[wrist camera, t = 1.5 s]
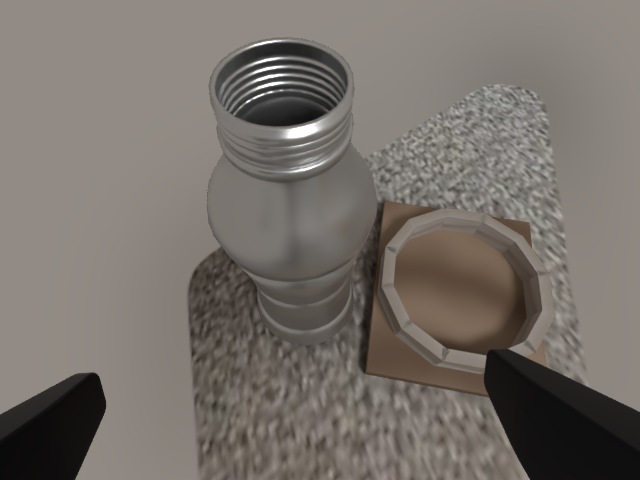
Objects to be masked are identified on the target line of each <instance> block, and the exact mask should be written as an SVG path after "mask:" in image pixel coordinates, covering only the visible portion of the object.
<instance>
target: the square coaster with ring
mask: <svg viewBox="0 0 640 480" xmlns="http://www.w3.org/2000/svg"><path fill="white" fill-rule="evenodd" d="M554 317H555V310H554V303H553V295H552V288H551V281H550V273H549V272H548V270H547V269H546V268H545V266H544V265H543V263H542V262H541V261H540V259H539V258H538V256H537V255H536V254H535V252H534V251H533V250H532V243H531V234H530V226H529V222H522V221H516V220H509V219H502V218H495V217H490V216H488V215H487V214H484V213H477V212H471V211H464V210H457V209H450V208H442V209H435V208H428V207H421V206H414V205H408V204H401V203H394V202H387V201H385V202H384V206H383V209H382V218H381V227H380V236H379V245H378V254H377V263H376V272H375V281H374V290H373V299H372V308H371V317H370V326H369V335H368V344H367V353H366V362H365V371H364V374H368V375H373V376H378V377H384V378H389V379H394V380H400V381H405V382H410V383H416V384H421V385H426V386H431V387H437V388H442V389H447V390H453V391H458V392H463V393H468V394H474V395H479V396H484V397H489V395H488V393H487V391H486V389H485V385H484V371H485V363H486V355H487V352H488V351H489V350H490V349H499V348H507V349H510V350H512V351H514V352H516V353H518V354H520V355H522V356H524V357H526V358H528V359H531V360H533V361H535V362H537V363H539V364H541V365H543V366H545V367H546V358H545V350H544V342H543V338H544V336H545V334H546V332H547V330H548V328H549V327H550V325H551V323H552V321H553V319H554Z"/></svg>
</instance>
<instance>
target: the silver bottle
mask: <svg viewBox="0 0 640 480" xmlns="http://www.w3.org/2000/svg"><path fill="white" fill-rule="evenodd" d="M209 91H210V101H211V105H212V108H213V111H214V114H215V117H216V120H217V134H218V139H219V142H220V145H221V148H222V150H223V152H224V153H223V155H222V156H221V158H220V160H219V162H218V163H217V165H216V167H215V169H214V171H213V173H212V175H211V178H210V180H209V185H208V192H207V211H208V220H209V224H210V227H211V229H212V232H213V235H214V237H215V238H216V240H217V241H218V242H219V244H220V245H221V247H222V248H223V249H224V251H225V252H226V253H227V254H228V256H229V257H230V258H231V259H232V260H233V261H234V262H235V263H236V264H237V265H239V266H240V267H241V268H242V269H243V270H244V271H245V272H246V273H247V274H248V275H249V276H250V277H251V279H252V280H253V281H254V283H255V285H256V287H257V301H258V308H259V313H260V316H261V318H262V321H263V322H264V324H265V325H266V327H267V328H268V329H269V330H270V331H271V332H272V333H273V334H274V335H275V336H277V337H279V338H280V339H282V340H284V341H287V342H290V343H292V344H297V345H314V344H318V343H322V342H324V341H326V340H328V339H330V338H331V337H333V336H334V335H335V334H337V333H338V332H339V331H340V330H341V329H342V328H343V327H344V326H345V325H346V323H347V321H348V320H349V318H350V316H351V313H352V310H353V304H354V294H353V286H352V282H351V279H350V272H351V268H352V265H353V263H354V261H355V259H356V258H357V256H358V254H359V252H360V251H361V249H362V247H363V246H364V244H365V242H366V241H367V239H368V236H369V234H370V231H371V229H372V226H373V223H374V221H375V218H376V213H377V203H378V202H377V195H376V189H375V185H374V181H373V177H372V174H371V172H370V169H369V167H368V164H367V163H366V162H365V160H364V159H363V157H362V156H361V154H360V153H359V152H358V151H357V149H356V148H355V147H354V146H353V145H352V143H351V138H352V131H353V115H352V112H351V111H352V104H353V96H354V80H353V73H352V71H351V69H350V66H349V64H348V63H347V62H346V61H345V59H344V58H343V57H342V56H341V55H339V54H338V53H337V52H336V51H334V50H333V49H331V48H329V47H327V46H325V45H323V44H320V43H317V42H314V41H310V40H305V39H299V38H272V39H265V40H260V41H257V42H253V43H250V44H247V45H245V46H243V47H240V48H238V49H236V50H235V51H233V52H231V53H229V54H228V55H227V56H226V57H225V58H224V59H222V60H221V61H220V62H219V64H218V65H217V66H216V67H215V69H214V71H213V73H212V75H211V77H210V82H209Z"/></svg>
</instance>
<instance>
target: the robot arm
mask: <svg viewBox="0 0 640 480" xmlns="http://www.w3.org/2000/svg"><path fill="white" fill-rule="evenodd" d="M484 385H485V389H486V391H487V393H488V395H489V398H490V400H491V402H492V404H493V406H494V409H495V411H496V413H497V415H498V417H499V419H500V422H501V424H502V426H503V428H504V430H505V433H506V435H507V437H508V439H509V441H510V443H511V445H512V447H513V450H514V452H515V454H516V455H517V457H518V459H519V461H520V463H521V465H522V466H523V468H524V470H525V472H526V473H527V475H528V477H529V478H530V480H640V412H638V411H637V410H635V409H633V408H630V407H628V406H626V405H624V404H622V403H620V402H618V401H616V400H614V399H612V398H610V397H608V396H605V395H603V394H601V393H599V392H597V391H595V390H593V389H591V388H589V387H587V386H585V385H583V384H580V383H578V382H576V381H574V380H572V379H570V378H568V377H566V376H564V375H562V374H560V373H558V372H556V371H553V370H551V369H549V368H547V367H545V366H543V365H541V364H539V363H537V362H535V361H533V360H531V359H528V358H526V357H524V356H522V355H520V354H518V353H516V352H514V351H512V350H510V349H507V348H499V349H490V350H489V351H488V352H487V355H486V363H485V371H484ZM105 409H106V400H105V396H104V392H103V389H102V385H101V381H100V378H99V376H98V375H97V374H96V373H78V374H75V375H73V376H71V377H69V378H67V379H65V380H63V381H62V382H60V383H58V384H56V385H54V386H52V387H50V388H48V389H47V390H45V391H43V392H41V393H39V394H37V395H36V396H34V397H32V398H30V399H28V400H26V401H25V402H23V403H21V404H19V405H17V406H15V407H13V408H12V409H10V410H8V411H6V412H4V413H2V414H0V480H75V479H76V476H77V474H78V472H79V470H80V468H81V466H82V463H83V461H84V459H85V456H86V454H87V452H88V450H89V447H90V445H91V443H92V441H93V438H94V436H95V434H96V431H97V429H98V427H99V425H100V422H101V420H102V418H103V416H104V413H105Z"/></svg>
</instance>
